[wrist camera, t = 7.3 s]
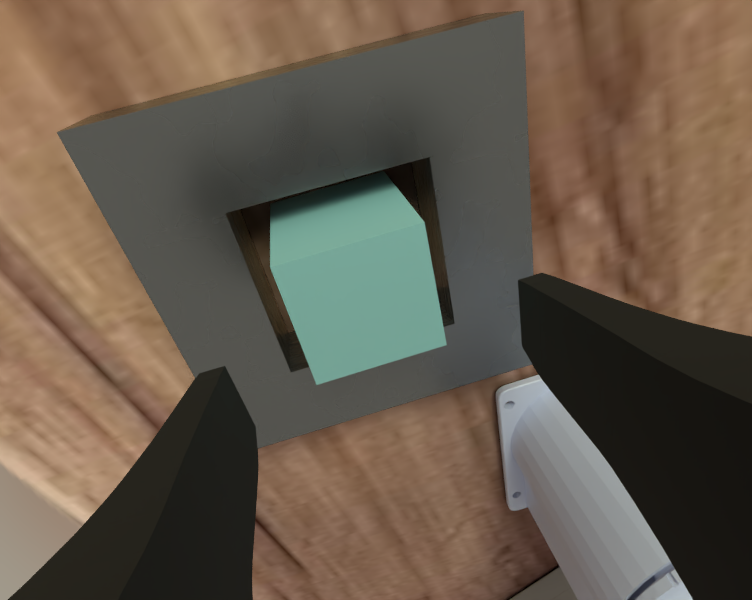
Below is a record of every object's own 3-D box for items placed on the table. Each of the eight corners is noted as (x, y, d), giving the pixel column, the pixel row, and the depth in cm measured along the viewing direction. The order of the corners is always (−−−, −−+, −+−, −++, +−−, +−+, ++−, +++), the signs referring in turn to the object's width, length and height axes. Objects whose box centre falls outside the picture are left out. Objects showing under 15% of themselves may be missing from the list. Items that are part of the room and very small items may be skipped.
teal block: (405, 270, 18) (446, 345, 14) (305, 300, 18) (316, 384, 14) (383, 170, 16) (424, 222, 12) (270, 203, 16) (270, 267, 11)
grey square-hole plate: (508, 328, 20) (536, 362, 18) (241, 408, 20) (238, 454, 18) (484, 13, 14) (523, 10, 12) (90, 116, 13) (56, 132, 11)
